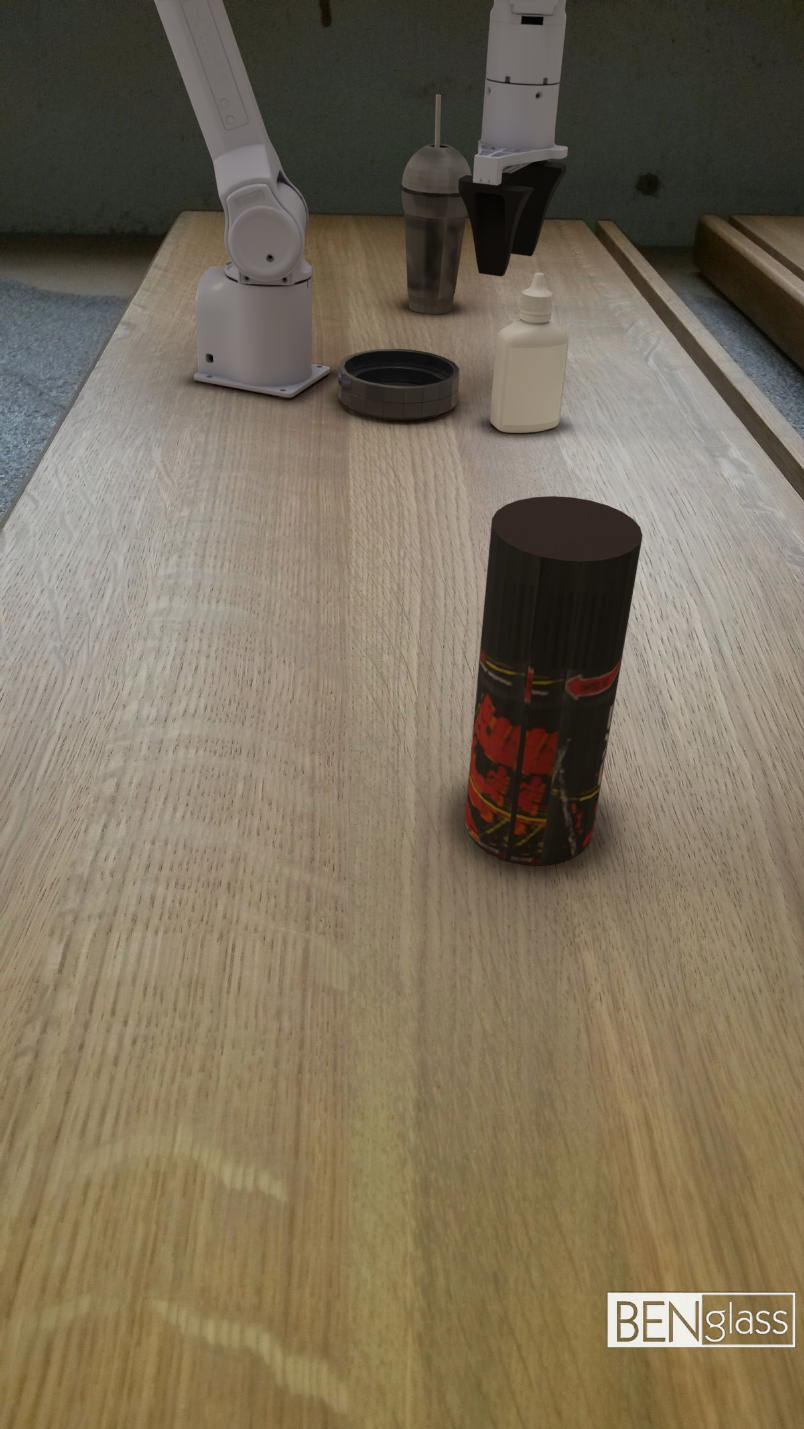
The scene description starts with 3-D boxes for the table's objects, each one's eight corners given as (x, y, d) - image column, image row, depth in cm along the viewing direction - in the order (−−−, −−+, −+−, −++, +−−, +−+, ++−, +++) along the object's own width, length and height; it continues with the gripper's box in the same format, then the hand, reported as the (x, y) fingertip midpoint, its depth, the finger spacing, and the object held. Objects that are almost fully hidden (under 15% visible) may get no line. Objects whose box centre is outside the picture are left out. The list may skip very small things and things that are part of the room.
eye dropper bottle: (557, 438, 97) (575, 284, 90) (487, 431, 98) (500, 277, 91) (559, 419, 101) (577, 269, 94) (492, 413, 101) (505, 263, 95)
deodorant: (457, 785, 59) (481, 495, 50) (578, 783, 59) (622, 496, 51) (473, 867, 54) (503, 561, 45) (605, 863, 54) (659, 561, 46)
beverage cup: (473, 303, 128) (489, 92, 117) (453, 321, 123) (468, 101, 111) (408, 294, 130) (417, 85, 119) (385, 311, 124) (393, 94, 113)
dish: (318, 410, 100) (318, 374, 98) (367, 375, 108) (368, 342, 106) (431, 432, 97) (433, 395, 95) (473, 394, 105) (476, 360, 103)
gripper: (545, 95, 87) (526, 291, 94) (597, 76, 98) (576, 252, 105) (452, 86, 89) (441, 278, 96) (514, 68, 100) (499, 241, 108)
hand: (506, 263), depth 101 cm, fingers open, 7 cm apart
